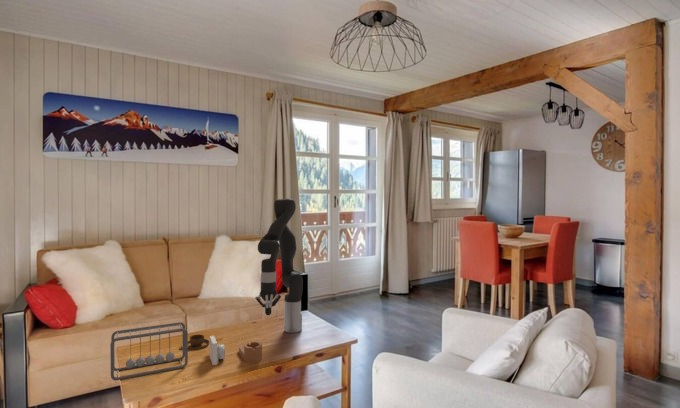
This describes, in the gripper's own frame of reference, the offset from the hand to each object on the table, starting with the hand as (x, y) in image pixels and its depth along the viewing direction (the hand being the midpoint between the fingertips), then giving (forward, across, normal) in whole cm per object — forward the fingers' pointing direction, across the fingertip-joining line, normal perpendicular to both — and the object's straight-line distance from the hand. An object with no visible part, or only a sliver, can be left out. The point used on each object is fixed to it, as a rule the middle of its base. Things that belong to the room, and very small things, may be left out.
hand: (268, 314), depth 197 cm
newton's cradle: (+18, +53, +1) cm, 56 cm away
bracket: (+18, +9, +2) cm, 21 cm away
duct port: (+18, +24, +2) cm, 30 cm away
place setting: (+19, +32, -16) cm, 40 cm away
